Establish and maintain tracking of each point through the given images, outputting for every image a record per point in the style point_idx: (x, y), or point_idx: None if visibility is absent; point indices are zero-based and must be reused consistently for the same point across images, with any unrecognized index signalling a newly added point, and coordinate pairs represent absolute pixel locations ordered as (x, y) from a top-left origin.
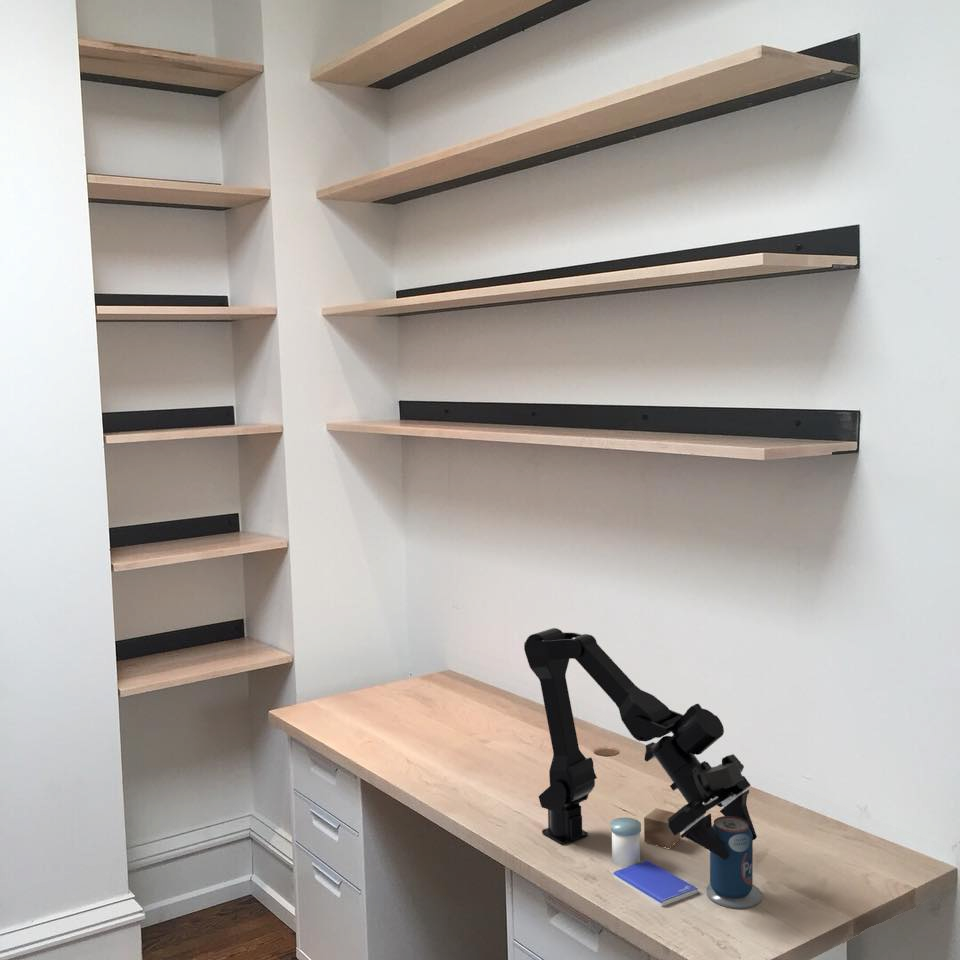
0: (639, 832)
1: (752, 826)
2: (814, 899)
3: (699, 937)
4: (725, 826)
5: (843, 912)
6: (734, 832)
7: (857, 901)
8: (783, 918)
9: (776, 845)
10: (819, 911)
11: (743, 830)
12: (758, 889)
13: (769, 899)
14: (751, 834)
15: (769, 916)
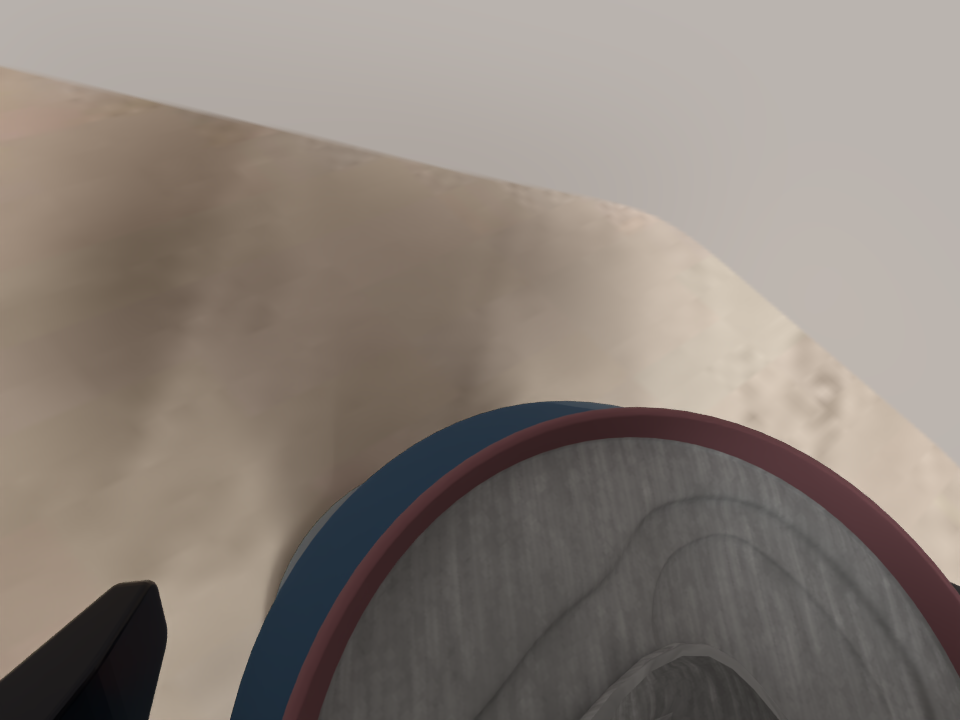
0: None
1: (2, 701)
2: (192, 287)
3: None
4: None
5: (234, 157)
6: (857, 518)
7: (85, 144)
8: (465, 314)
9: None
10: (295, 229)
11: (714, 421)
12: (315, 533)
13: (345, 450)
14: (479, 420)
15: (496, 366)
